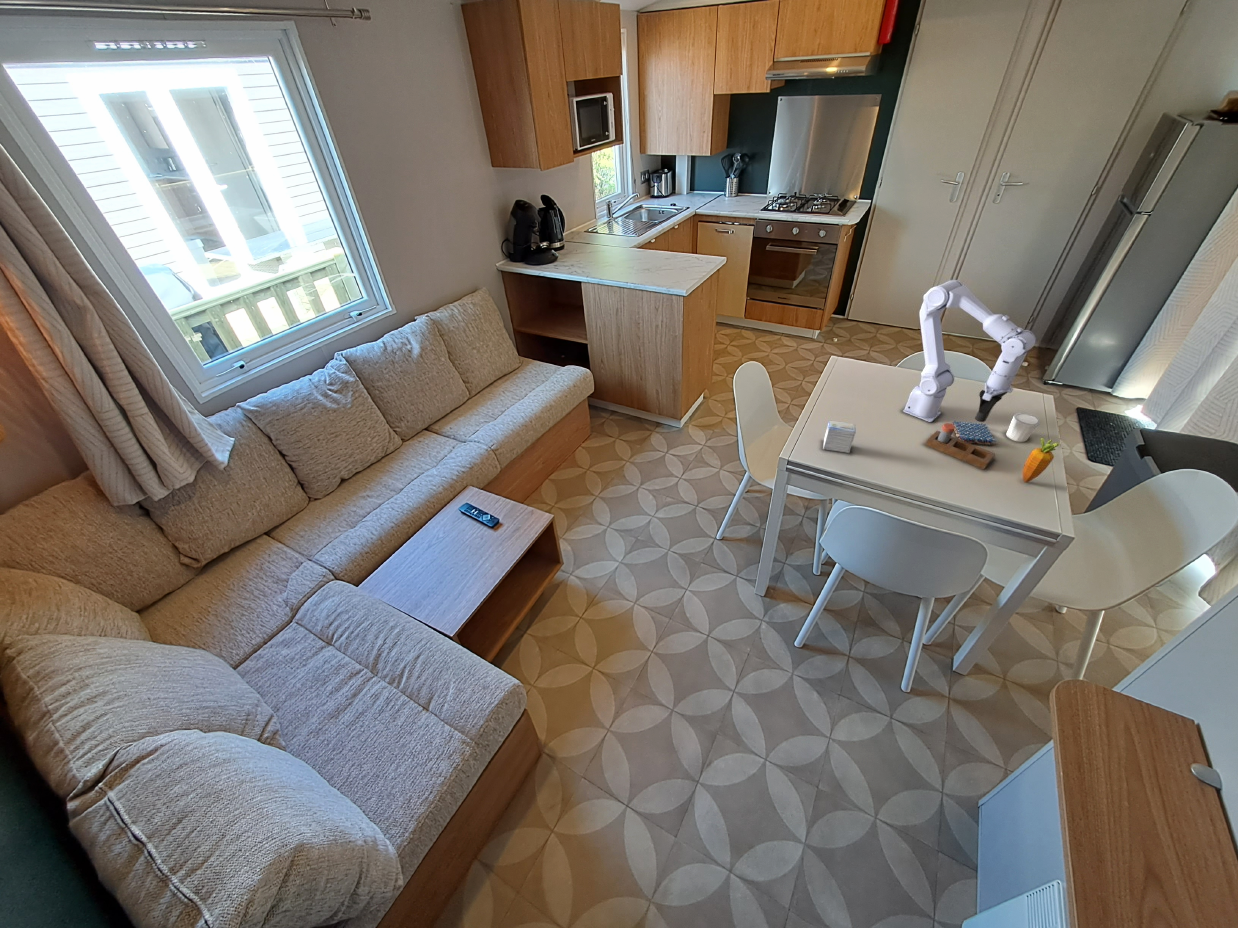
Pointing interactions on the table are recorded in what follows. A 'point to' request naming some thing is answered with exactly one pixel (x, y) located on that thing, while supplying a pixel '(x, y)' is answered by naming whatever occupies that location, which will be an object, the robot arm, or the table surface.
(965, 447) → the marker stand
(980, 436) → the woven mat
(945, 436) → the grey marker
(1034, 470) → the carrot
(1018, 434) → the white cylinder
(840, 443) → the medicine box
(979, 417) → the cylinder
